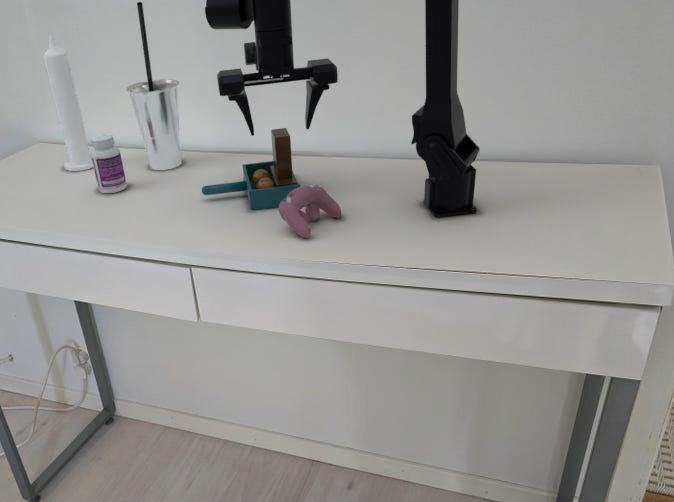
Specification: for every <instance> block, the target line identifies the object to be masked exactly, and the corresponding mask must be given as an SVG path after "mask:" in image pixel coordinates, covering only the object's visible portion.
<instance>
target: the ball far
mask: <svg viewBox="0 0 674 502" xmlns="http://www.w3.org/2000/svg"><path fill="white" fill-rule="evenodd" d="M262 178H270V175H269V173H268V172H267V171H266V170H263V169H259V170H257V171H255V172H254V174H253V176H252V181H253V184H254V185H255V186H257V183H258V181H259V180H260V179H262Z"/></svg>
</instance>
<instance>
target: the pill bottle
mask: <svg viewBox="0 0 674 502" xmlns="http://www.w3.org/2000/svg"><path fill="white" fill-rule="evenodd" d="M90 142H91V146H92V148H93V149H92V150H91V151H90V154H91V158H92V163H93V171H94V175H95V180H96V183H97V186H98V190H99V191H100V192H101V193H104V194H115V193H118V192H121V191H123V190H125V189H126V188H127V186H128V184H127V179H126V174H125V173H126V172H125V169H124V164H123V160H122V155H121V150H120V149H119V147H118V146H116V145H115V139H114V136H113V134H108V133H107V134H99V135H95V136H93V137H91V139H90Z"/></svg>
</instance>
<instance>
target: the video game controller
mask: <svg viewBox="0 0 674 502" xmlns="http://www.w3.org/2000/svg"><path fill="white" fill-rule="evenodd" d="M302 209H304V211H303V210H302ZM321 210H322V211H323V212H324V213H326V214H327V215H328V216H330V217H332V218H335V219H339V218H340V217H341V216H342V208H341V207H340V205H339V203H338V202H337V201H336V200H335V199H334V198H333V197H332V196H330V194H329V193H328V192H327V190H325V189H324V188H323V187H322V186H319V184H318V183H314V184H307V185H306V184H305V185H302V186H301V185H300V187H298V188H296V189H294V190H293V191H291V192H290V193H289V194H288V195H287V196H286V197H285V198H284V199H283V201H281V203H280V204H279V207H278V213H279V216H280V218H281V219H282V220H283V221H284V222H286V224H287V225H288V226H289V228H290V229H291V230H292V231H293V232H294V233H296V234H297V235H299V237H302V238H304V239H307V238H309V237H310V236H311V228H310V226H309V221H310V222H314V221H317V220H318V219H320V216H321V212H320V211H321Z"/></svg>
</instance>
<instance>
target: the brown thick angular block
mask: <svg viewBox="0 0 674 502" xmlns="http://www.w3.org/2000/svg"><path fill="white" fill-rule="evenodd" d="M270 133H271V144H272V145H271V147H272V159H273V160H272V161H273V162H274V165H273V166H270V175H271V180H272V181H273V182H274V184H275V187H280V186H289V185H297V184H299V182H298V180H297V177H296V175H295V172H294V171H293V160H292V159H293V157H292V147H291V146H292V143H291V135H290V133H289V130H288V129H287V128H286V127H281V128H274V129H270Z"/></svg>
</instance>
